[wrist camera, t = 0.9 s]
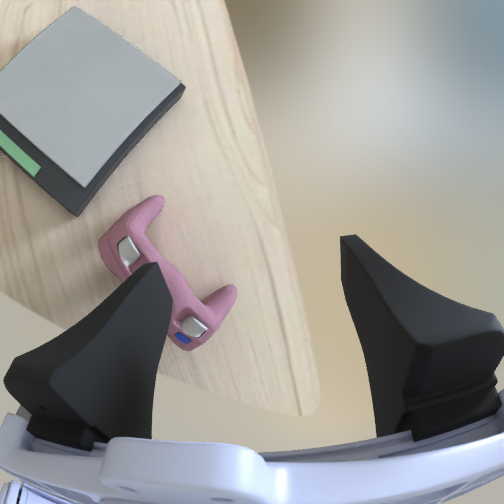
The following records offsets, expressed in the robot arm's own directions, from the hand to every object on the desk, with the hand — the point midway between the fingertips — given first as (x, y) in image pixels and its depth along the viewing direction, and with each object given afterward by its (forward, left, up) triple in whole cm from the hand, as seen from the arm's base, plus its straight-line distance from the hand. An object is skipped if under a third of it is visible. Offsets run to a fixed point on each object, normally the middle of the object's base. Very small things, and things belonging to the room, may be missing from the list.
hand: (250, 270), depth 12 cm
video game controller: (-2, +1, -12) cm, 12 cm away
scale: (+3, +15, -12) cm, 19 cm away
